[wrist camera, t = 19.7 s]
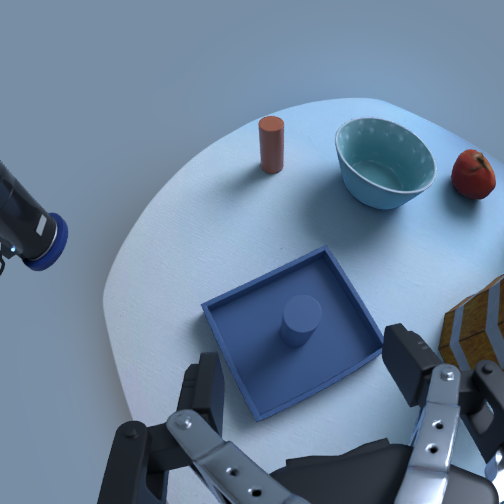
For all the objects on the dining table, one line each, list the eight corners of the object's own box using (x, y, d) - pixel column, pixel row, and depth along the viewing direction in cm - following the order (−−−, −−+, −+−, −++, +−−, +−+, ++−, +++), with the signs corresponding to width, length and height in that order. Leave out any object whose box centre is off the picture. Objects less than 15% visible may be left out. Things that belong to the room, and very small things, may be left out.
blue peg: (288, 352, 33) (294, 339, 25) (275, 326, 35) (275, 305, 27) (315, 338, 34) (329, 321, 26) (301, 313, 35) (310, 288, 27)
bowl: (348, 139, 50) (355, 104, 42) (425, 177, 45) (442, 144, 38) (311, 196, 44) (316, 158, 37) (404, 244, 39) (426, 212, 32)
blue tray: (257, 420, 31) (256, 422, 28) (205, 310, 37) (200, 304, 35) (382, 351, 33) (390, 347, 31) (323, 254, 40) (326, 244, 37)
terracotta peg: (267, 176, 46) (265, 134, 38) (257, 162, 48) (254, 120, 40) (287, 168, 47) (288, 126, 39) (276, 155, 48) (276, 113, 40)
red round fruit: (476, 174, 45) (493, 147, 38) (488, 212, 41) (510, 186, 34) (440, 164, 46) (456, 135, 39) (451, 203, 42) (471, 174, 35)
